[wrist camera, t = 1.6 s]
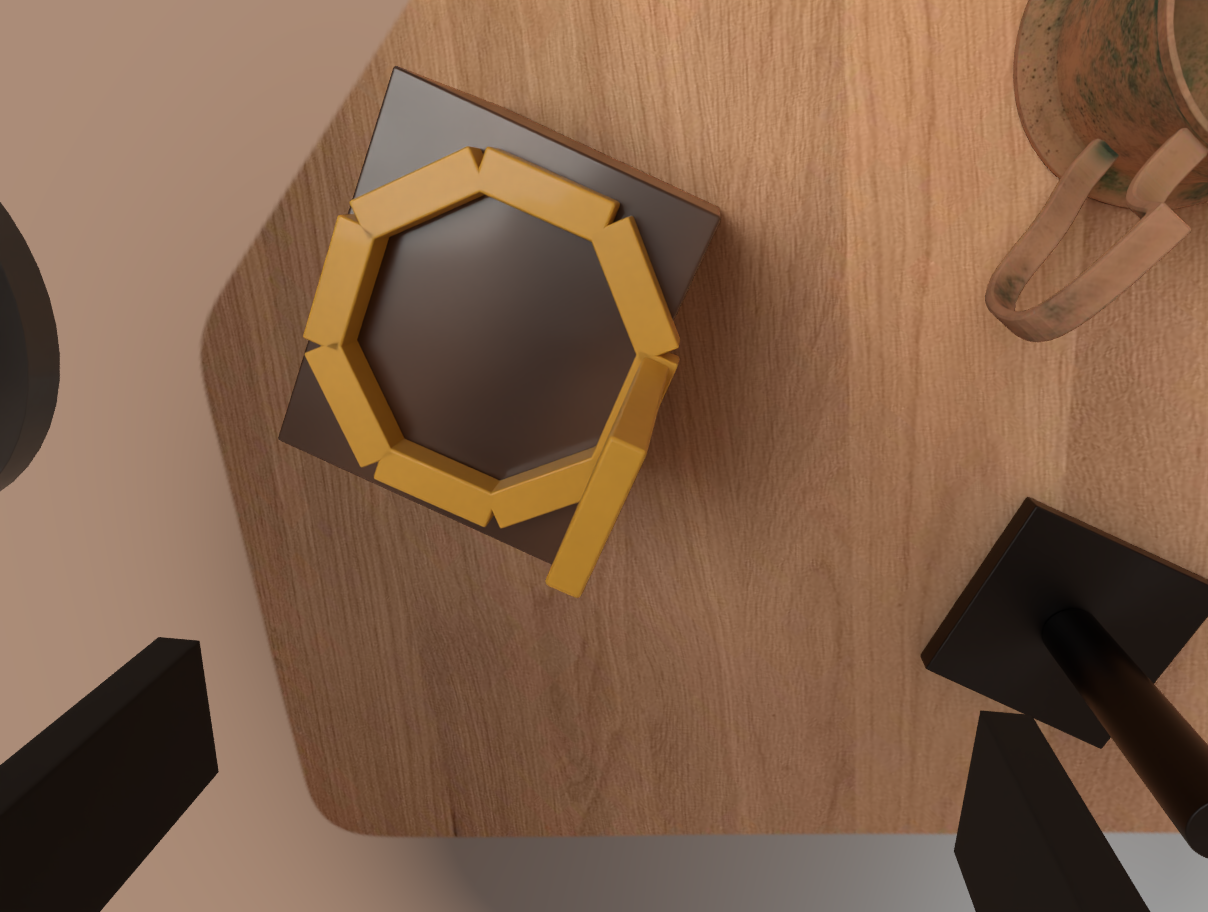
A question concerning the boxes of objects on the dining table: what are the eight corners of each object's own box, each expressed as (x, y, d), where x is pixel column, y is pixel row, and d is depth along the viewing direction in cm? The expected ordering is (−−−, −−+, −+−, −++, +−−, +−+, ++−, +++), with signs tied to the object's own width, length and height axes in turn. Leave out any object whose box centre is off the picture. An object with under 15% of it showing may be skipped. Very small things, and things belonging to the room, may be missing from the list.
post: (919, 655, 39) (1014, 872, 27) (1026, 495, 36) (1189, 655, 24) (1090, 733, 39) (1264, 985, 27) (1211, 581, 36) (1469, 784, 24)
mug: (832, 197, 34) (891, 202, 22) (1208, -219, 28) (1540, -493, 17) (1033, 382, 35) (1186, 476, 24) (1432, 18, 29) (1880, -89, 18)
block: (406, 365, 38) (276, 440, 27) (499, 105, 34) (393, 64, 23) (604, 456, 38) (558, 568, 27) (719, 207, 34) (721, 216, 23)
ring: (291, 425, 27) (86, 539, 18) (388, 99, 23) (193, 45, 14) (589, 555, 27) (527, 733, 18) (729, 250, 23) (737, 286, 15)
